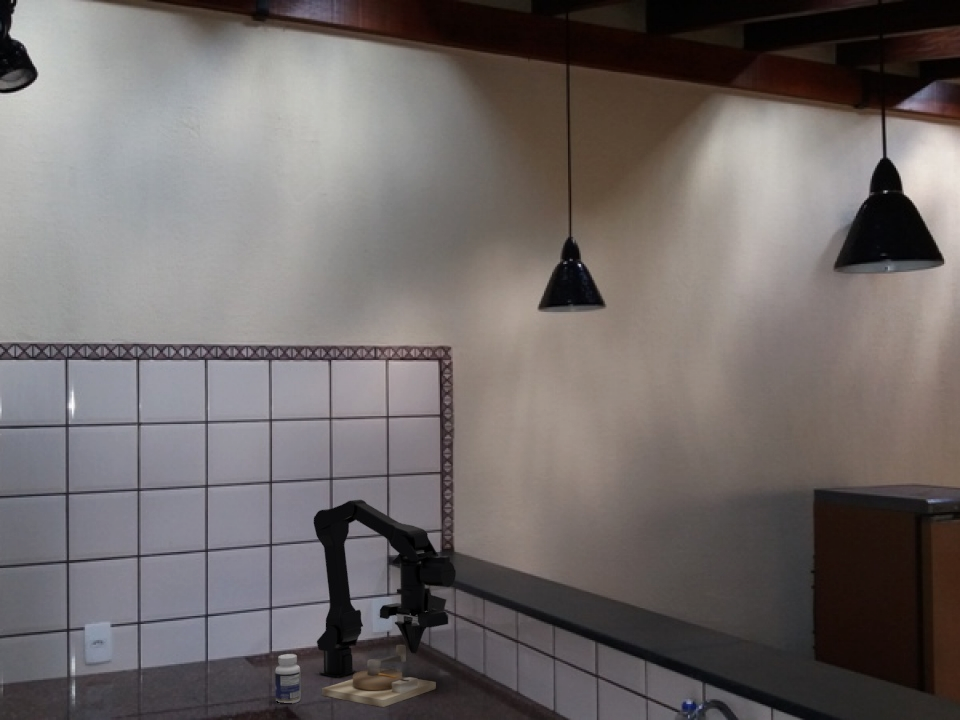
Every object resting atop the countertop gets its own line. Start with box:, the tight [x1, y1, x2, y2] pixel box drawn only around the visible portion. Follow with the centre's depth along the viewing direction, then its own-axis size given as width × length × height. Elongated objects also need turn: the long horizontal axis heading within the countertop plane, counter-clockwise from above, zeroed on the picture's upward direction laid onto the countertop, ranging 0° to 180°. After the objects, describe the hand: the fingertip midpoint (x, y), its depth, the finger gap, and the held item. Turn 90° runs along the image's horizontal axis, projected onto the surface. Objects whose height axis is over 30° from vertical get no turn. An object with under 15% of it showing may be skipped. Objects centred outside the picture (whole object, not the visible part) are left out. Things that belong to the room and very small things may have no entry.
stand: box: [321, 675, 437, 708], centre depth 238 cm, size 18×18×4 cm
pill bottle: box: [274, 653, 301, 704], centre depth 232 cm, size 5×5×10 cm
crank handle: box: [352, 644, 407, 690], centre depth 240 cm, size 11×16×7 cm
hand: (414, 652), depth 243 cm, fingers closed
